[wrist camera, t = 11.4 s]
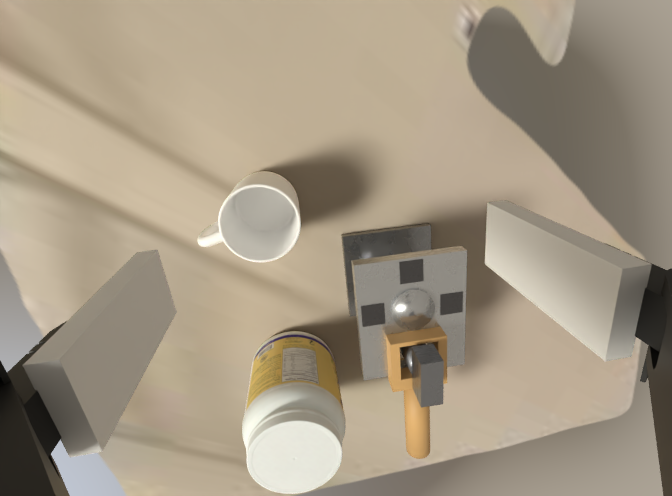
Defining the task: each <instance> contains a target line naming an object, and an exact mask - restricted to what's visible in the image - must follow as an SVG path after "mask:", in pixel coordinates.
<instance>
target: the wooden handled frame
mask: <svg viewBox="0 0 672 496" xmlns="http://www.w3.org/2000/svg"><path fill="white" fill-rule="evenodd" d="M431 342H432V344H434V346H435V348H436V349H437V351H438V352H439V354H440V356H441V357H442V359H443V361H444V377H443V384H445V383H447V335H446V334H445V332H444V331H443V329H442V328H441V327H434V328H427V329H421V330H414V331H407V332H401V333H394V334H388V335H386V343H387V360H388V376H389V382H390V385H391V388H392V390H393V392H396V391H402V390H404V406H405V428H406V449H407V452H408V453H409V454H410V455H411V456H412V457H414V458H418V459H421V458H425V457H427V456H428V455H429V453H430V409H429V406H428V407H422V408H421V406H420V404H419V402H418V399H417V397H416V395H415V393H414V390H413V388H412V374H411V372H410V370H409V368H408V367H405V368H401V367H400V360H403V359H404V358H402V359H400V347H405V346H411V345H418V344H424V343H431Z"/></svg>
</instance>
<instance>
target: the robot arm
mask: <svg viewBox="0 0 672 496" xmlns="http://www.w3.org/2000/svg"><path fill="white" fill-rule="evenodd" d="M485 265H487V266H488V267H489V268H490V269H491V270H493V271H494V272H495V273H496V274H498V275H499V276H500V277H501V278H503V279H504V280H505V281H506V282H508V283H509V284H510V285H511V286H512V287H514V288H515V289H516V290H517V291H519V292H520V293H521V294H522V295H524V296H525V297H526V298H527V299H529V300H530V301H531V302H532V303H534V304H535V305H536V306H537V307H538V308H540V309H541V310H542V311H543V312H545V313H546V314H547V315H548V316H550V317H551V318H552V319H553V320H555V321H556V322H557V323H558V324H559V325H561V326H562V327H563V328H564V329H566V330H567V331H568V332H569V333H571V334H572V335H573V336H574V337H576V338H577V339H578V340H579V341H581V342H582V343H583V344H584V345H585V346H587V347H588V348H589V349H590V350H592V351H593V352H594V353H595V354H597V355H598V356H599V357H600V358H602V359H603V360H604V361H610V360H616V359H621V358H627V357H632V352H633V348H634V343H635V339H636V337H637V338H639V339H640V340H642V341H643V342H645V343H646V344H648V345H649V346H648V350H647V354H646V359H645V363H644V367H643V371H642V376H641V380H640V381H642V382H646V380H647V378H648V380H649V388H650V395H651V403H652V411H653V418H654V426H655V433H656V441H657V449H658V457H659V464H660V471H661V480H662V487H663V495H664V496H672V269H669V270H665V269H663V268H660V267H658V266H656V265H654V264H651V263H649V262H647V261H645V260H642V259H640V258H638V257H635V256H632V255H631V254H629V253H626V252H624V251H621V250H619V249H617V248H615V247H612V246H610V245H608V244H605V243H602V242H600V241H598V240H595V239H593V238H591V237H589V236H586V235H584V234H582V233H579V232H577V231H575V230H573V229H570V228H568V227H566V226H564V225H561V224H559V223H557V222H554V221H552V220H550V219H548V218H545V217H543V216H541V215H538V214H536V213H534V212H532V211H529V210H527V209H525V208H522V207H520V206H518V205H516V204H513V203H511V202H509V201H507V200H501V201H494V202H487V223H486V247H485ZM175 314H176V308H175V305H174V302H173V299H172V295H171V292H170V289H169V286H168V282H167V279H166V276H165V273H164V269H163V266H162V263H161V260H160V256H159V253H158V250H152V251H145V252H138V253H136V254H135V255H134V256H133V257H132V258H131V259H130V260H129V261H128V262H127V263H126V264H125V265H124V266H123V267H122V268H121V269H120V270H119V271H118V272H117V273H116V274H115V275H114V276H113V277H112V278H111V279H110V280H109V281H108V282H107V283H106V284H104V285H103V286H102V287H101V288H100V289H99V290H98V291H97V292H96V293H95V294H94V295H93V296H92V297H91V298H90V299H89V300H88V301H87V302H86V303H85V304H84V305H83V306H82V307H81V308H80V309H79V310H78V311H77V312H76V313H75V314H74V315H73V316H72V317H71V318H70V319H69V320H68V321H66V322H64V323H63V324H61V325H60V326H58V327H56V328H55V329H53V330H52V331H50V332H49V333H48V334H47V335H46V336H45V337H44V338H43V339H42V340H41V341H40V342H39V344H38V345H36V346H35V347H34V348H33V349H32V350H30V351H29V354H26V355H25V356H24V357H23V358H22V359H21V360H20V361H19V362H18V363H17V364H16V365H15V366H14V367H13V368H12V369H11V370H10V371H8V372H6V370H5V369H4V367H3V365H2V363H1V361H0V496H69V493H68V491H67V489H66V487H65V484H64V482H63V479H62V477H61V475H60V472H59V470H58V468H57V465H56V463H55V461H54V459H53V458H52V456H51V452H52V451H53V449H54V448H55V446H56V445H57V443H58V442H59V440H60V439H61V441H62V443H63V445H64V447H65V449H66V451H67V453H68V455H69V457H74V456H79V455H86V454H91V453H97V452H102V451H103V449H104V447H105V446H106V444H107V442H108V440H109V438H110V436H111V434H112V432H113V431H114V429H115V427H116V425H117V423H118V421H119V419H120V417H121V416H122V414H123V412H124V410H125V408H126V406H127V404H128V402H129V401H130V399H131V397H132V395H133V393H134V391H135V389H136V387H137V385H138V384H139V382H140V380H141V378H142V376H143V374H144V372H145V370H146V369H147V367H148V365H149V363H150V361H151V359H152V357H153V355H154V354H155V352H156V350H157V348H158V346H159V344H160V342H161V340H162V339H163V337H164V335H165V333H166V331H167V329H168V327H169V325H170V323H171V322H172V320H173V318H174V316H175Z"/></svg>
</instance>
